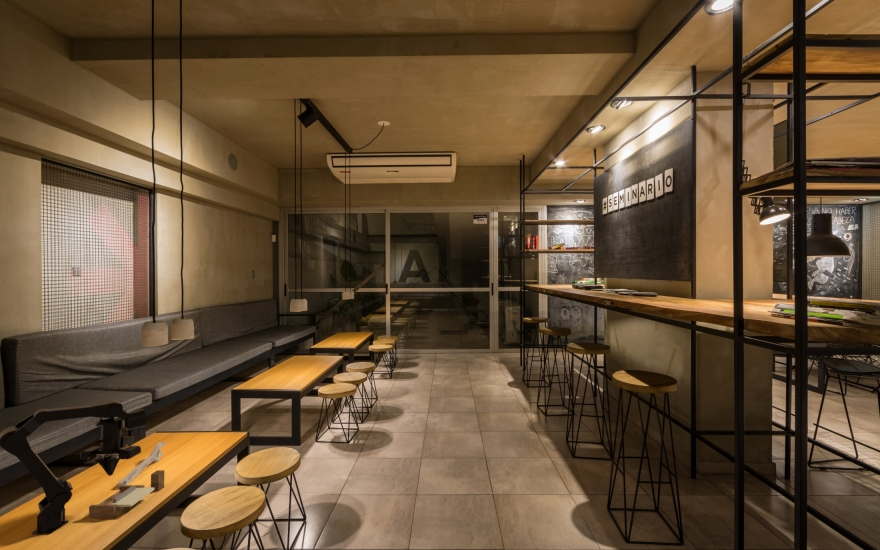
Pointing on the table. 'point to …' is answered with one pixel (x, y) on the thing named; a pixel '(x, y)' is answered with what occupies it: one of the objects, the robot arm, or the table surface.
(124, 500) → the cream cabinet door
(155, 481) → the brown rectangular block
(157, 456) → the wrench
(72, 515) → the table surface
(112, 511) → the wooden tray
